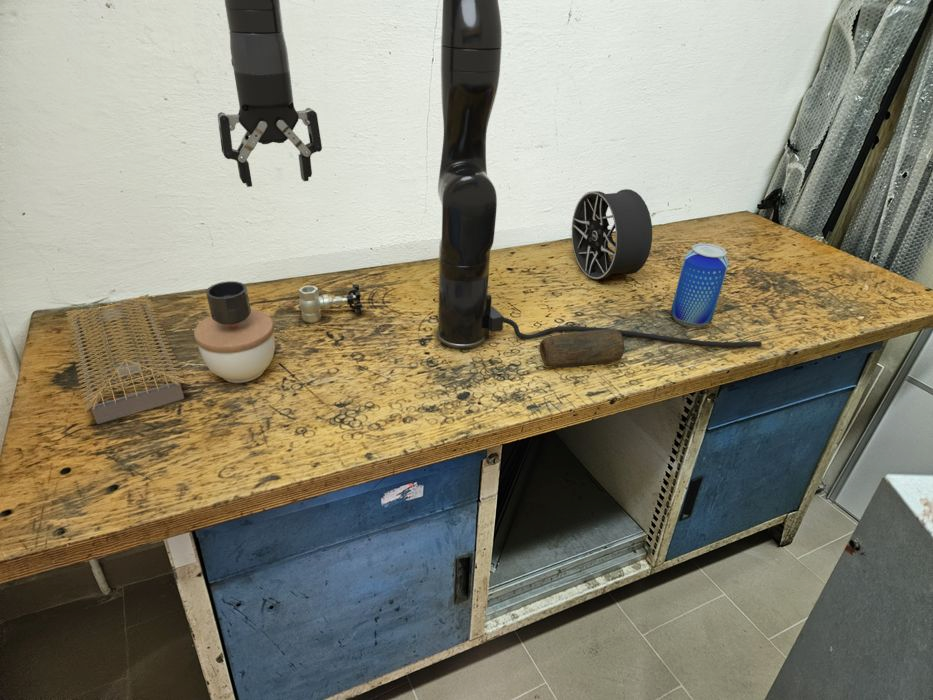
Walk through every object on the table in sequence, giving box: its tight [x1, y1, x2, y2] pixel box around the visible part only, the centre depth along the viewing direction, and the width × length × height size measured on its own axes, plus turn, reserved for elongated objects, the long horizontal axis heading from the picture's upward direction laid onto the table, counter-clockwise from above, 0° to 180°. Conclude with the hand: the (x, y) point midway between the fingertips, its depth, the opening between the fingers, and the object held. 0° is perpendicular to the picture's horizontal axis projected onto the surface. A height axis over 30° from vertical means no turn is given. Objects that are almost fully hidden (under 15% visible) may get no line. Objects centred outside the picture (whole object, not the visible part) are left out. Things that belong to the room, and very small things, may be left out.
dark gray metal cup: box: [205, 280, 252, 325], centre depth 96 cm, size 6×6×5 cm
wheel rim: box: [571, 188, 653, 280], centre depth 138 cm, size 20×9×20 cm, turn 20°
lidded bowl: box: [193, 309, 276, 384], centre depth 101 cm, size 13×13×11 cm
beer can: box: [670, 242, 730, 329], centre depth 121 cm, size 8×8×16 cm
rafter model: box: [65, 294, 188, 425], centre depth 103 cm, size 35×14×6 cm, turn 33°
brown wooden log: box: [538, 328, 625, 369], centre depth 108 cm, size 15×7×7 cm, turn 105°
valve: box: [298, 283, 363, 323], centre depth 119 cm, size 7×7×12 cm
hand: (277, 182), depth 91 cm, fingers open, 8 cm apart
